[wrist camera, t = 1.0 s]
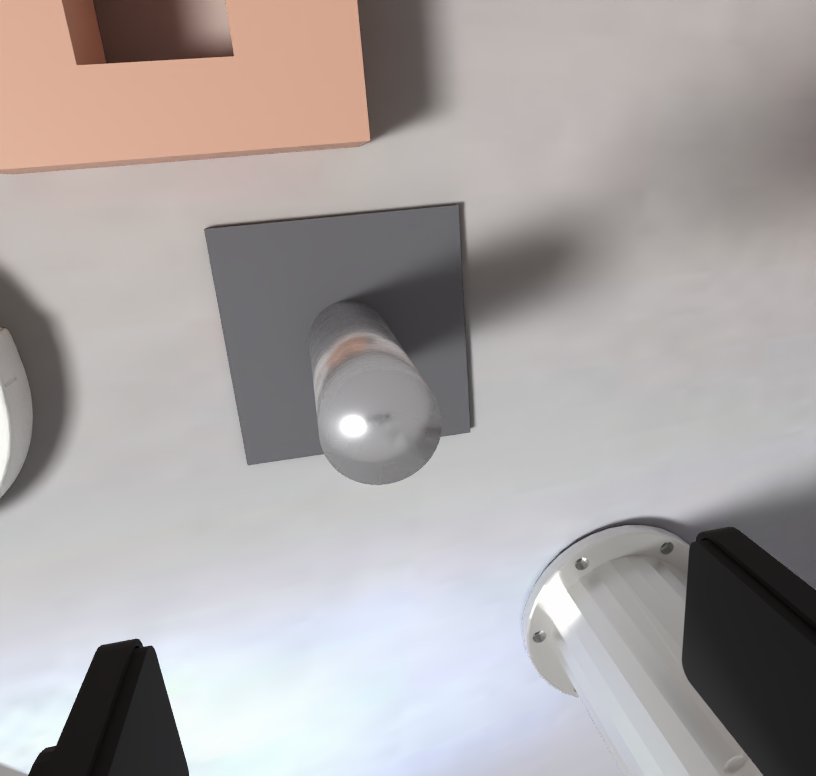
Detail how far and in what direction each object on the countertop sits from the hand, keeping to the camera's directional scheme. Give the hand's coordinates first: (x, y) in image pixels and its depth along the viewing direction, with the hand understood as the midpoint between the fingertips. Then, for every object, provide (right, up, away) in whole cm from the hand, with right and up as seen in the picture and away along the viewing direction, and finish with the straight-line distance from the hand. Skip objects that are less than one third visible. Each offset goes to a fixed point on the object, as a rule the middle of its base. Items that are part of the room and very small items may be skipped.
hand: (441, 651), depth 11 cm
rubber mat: (-4, +7, +21) cm, 22 cm away
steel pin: (-4, +7, +21) cm, 22 cm away
